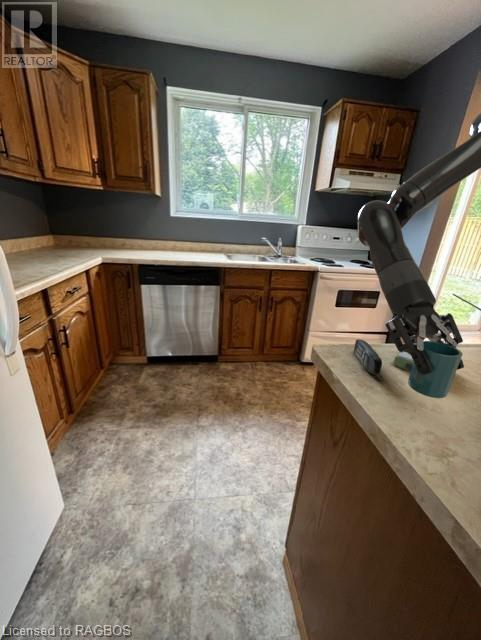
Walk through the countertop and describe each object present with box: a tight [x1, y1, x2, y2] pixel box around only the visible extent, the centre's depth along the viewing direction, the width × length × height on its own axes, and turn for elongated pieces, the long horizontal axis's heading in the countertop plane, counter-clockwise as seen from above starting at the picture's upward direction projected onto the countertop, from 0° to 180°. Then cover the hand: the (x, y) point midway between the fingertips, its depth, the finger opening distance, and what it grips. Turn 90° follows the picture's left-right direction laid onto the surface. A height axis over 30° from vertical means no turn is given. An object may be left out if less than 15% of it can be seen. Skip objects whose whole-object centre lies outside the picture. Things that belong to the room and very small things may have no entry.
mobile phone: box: [353, 338, 383, 381], centre depth 72 cm, size 5×3×15 cm
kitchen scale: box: [392, 352, 414, 372], centre depth 73 cm, size 11×10×3 cm
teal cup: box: [407, 340, 464, 399], centre depth 49 cm, size 6×6×8 cm
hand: (443, 371), depth 47 cm, fingers closed on teal cup, 6 cm apart
